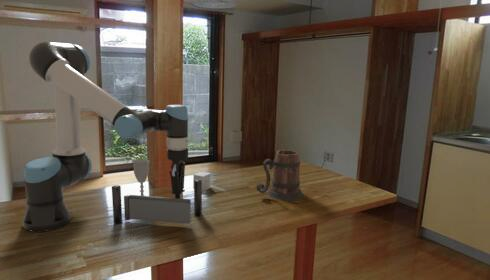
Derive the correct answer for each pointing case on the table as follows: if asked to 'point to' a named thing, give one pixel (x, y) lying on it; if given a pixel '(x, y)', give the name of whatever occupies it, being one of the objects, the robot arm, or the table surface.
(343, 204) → the table surface
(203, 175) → the product box
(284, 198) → the tankard
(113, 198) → the gate frame
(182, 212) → the gate leaf
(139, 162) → the chalice
